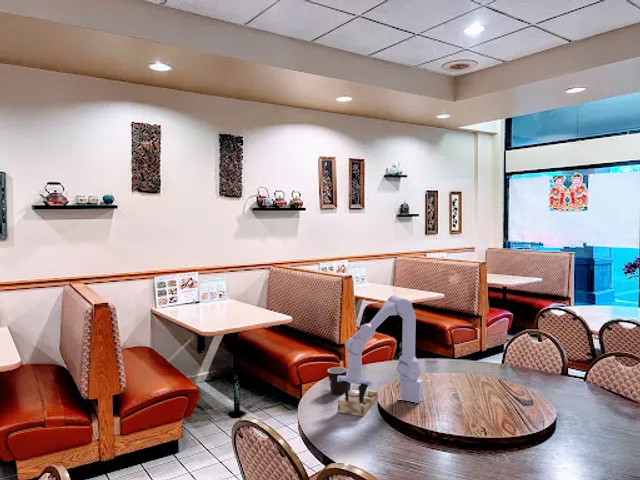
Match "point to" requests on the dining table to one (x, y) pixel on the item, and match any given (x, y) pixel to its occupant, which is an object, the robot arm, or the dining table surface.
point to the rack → (356, 408)
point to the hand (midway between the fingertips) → (354, 400)
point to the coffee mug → (333, 375)
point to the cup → (354, 396)
